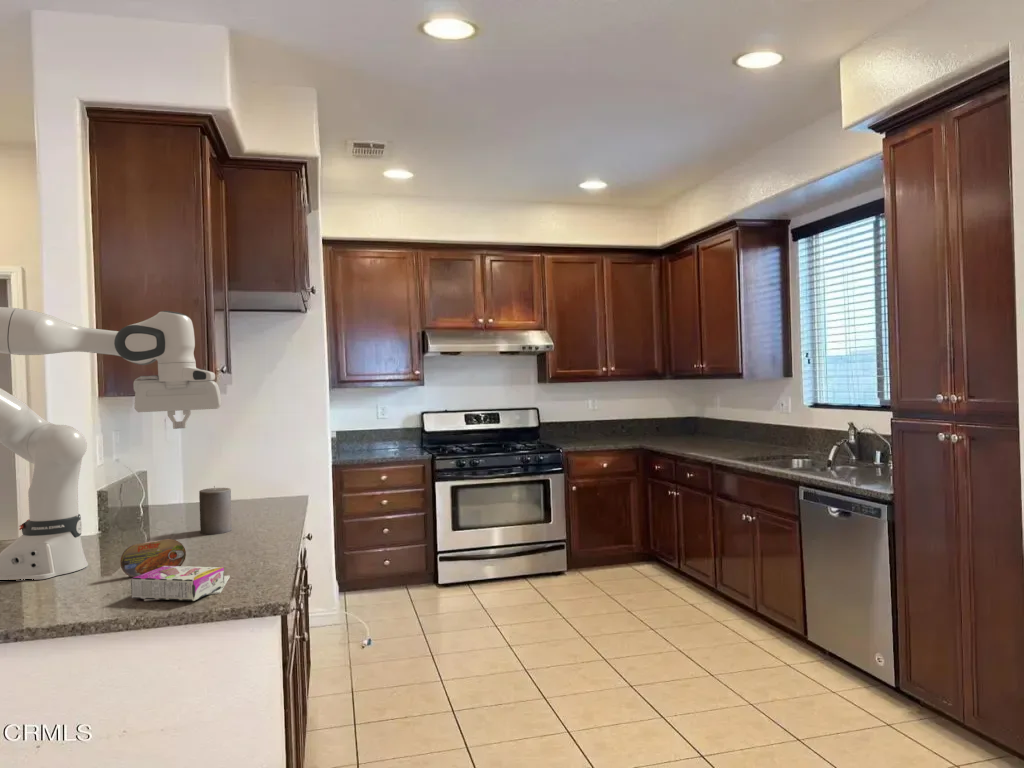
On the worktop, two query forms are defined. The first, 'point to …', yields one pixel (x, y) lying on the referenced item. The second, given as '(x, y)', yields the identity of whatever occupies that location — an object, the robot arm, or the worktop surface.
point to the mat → (208, 594)
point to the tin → (152, 556)
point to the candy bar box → (177, 583)
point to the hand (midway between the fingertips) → (179, 428)
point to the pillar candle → (215, 510)
